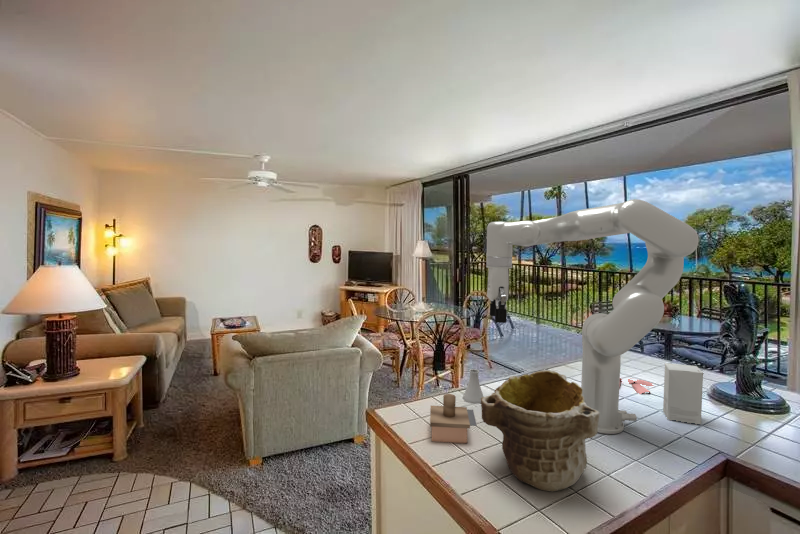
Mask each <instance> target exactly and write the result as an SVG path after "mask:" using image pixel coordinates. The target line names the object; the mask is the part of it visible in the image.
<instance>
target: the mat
mask: <svg viewBox="0 0 800 534" xmlns="http://www.w3.org/2000/svg"><path fill="white" fill-rule="evenodd" d="M467 412H468V417H469V422H470V427H471V426H473V427H475V426H476V427H477V421H476V418H475V411H474V409H468V408H467Z"/></svg>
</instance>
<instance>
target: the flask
mask: <svg viewBox="0 0 800 534" xmlns="http://www.w3.org/2000/svg"><path fill="white" fill-rule="evenodd" d="M468 372H469V380H468V383H467V386H466V389H465V391H464V394H463V396H462V399H463V401H464V402H465V403H468V404H473V405H477V404H481V398H482V397H485V396H484V394H483V391H482V388H481V384H480V380H479V373H480V370H479V369H476V368H470V369H469V370H468Z"/></svg>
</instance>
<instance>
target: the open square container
mask: <svg viewBox="0 0 800 534" xmlns="http://www.w3.org/2000/svg"><path fill="white" fill-rule="evenodd" d="M431 442H437V443H456V444H457V443H458V444H468V428H451V427H432V426H431Z"/></svg>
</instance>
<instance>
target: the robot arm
mask: <svg viewBox="0 0 800 534" xmlns="http://www.w3.org/2000/svg"><path fill="white" fill-rule="evenodd" d="M624 234H625V235H627V234H632V235H633V236H635V237H636V238H638V239H639V240H642V241H643V242H644V244H645V248H646V251H647V260H646V262H645V264H644V265H643V267H642V268H641V269H640V270H639V271H638V273H636V274H635V276H633V277H632V279H630V280H629V281H628V282H627V283H626V284H625V285H624V286H623V287H622V288H620V290H618V291H617V292H616V293H615V295H614V296H613V298H612V308H613V309H612V310H611V311H610V312H609V313H608V314H607V313H605V312H603V313H601V312H600V313H599V312H598V313H593V314H592V315H591V314H590V315H589V316H588V317H587V318H586V319H585V320H584V322H583V323H582V324H583V325H582V330H581V343H582V359H581V362H582V364H581V380H580V381H581V382H580V384H581V386H580V387H581V388H582V389H583V391H582V396H583V397H584V399H585V401H584V402H585V403H586V405H587V406H589V407H591V408H592V409H595V410H597V411H598V412H599V413H600V415H599V422H598V432H597V434H598V433H599V434H606V435H613V434H614V435H616V434H620V433H622V432H623V431H624V429H625V424H624V422H625V421H628V422H629V421H630V422H636V421H637V419H638V417H637V415H636V413H629V412H628V411H627V410H624V409H623V410H620V409H619V405H620V404H619V403H620V401H619V400H620V388H619V385H620V386H621V384H620V382H621V381H620V378H621V366H622V365H621V362H622V360H621V359H622V358H621V356H622V355H624V354H625V353H627V352H628V351H630V350H631V349H632V348H633V347H634V346H635V345H637V344H638V343H639V342H640V341H641V340H643V338H644V337H646V336H647V335H648V334H649V333H650V332H651V331H652V330H653V329H654V328H655V327H656V326H657V325H658V324H659V322H661V320H662V318H663V316H664V313H665V304H664V302H663V298H664V297H665V296H667V294H668V293H670V291H672V290H673V288H674V287H675V286H676V285H677V283H678V282H679V281H680V279H681V278H682V275H683V272H684V263H685V262H684V261H685V260H684V258H685V257H687V256H690V255H691V254H693V253H694V252H695V251H696V249H697V248H698V247H699V242H700V241H699V240H700V239H699V238H700V237H699V235H698V233H697V231H696V229H694V228H693V227H692V226H691V225H689V224H688V223H686V222H685V221H682V220H681V219H679V218H677V217H675V216H673V215H671V214H670V213H668V212H666V211H665V210H662V209H661V208H659V207H657V206H656V205H653V204H651V203H650V202H647V201H646V200H642V199H638V198H634V199H629V200H626V201H624V202H620V203H614V204H613V203H612V204H608V205H603V206H596V207H591V208H583V209H578V210H574V211H570V212H567V213H565V214H561V215H558V216H554V217H549V218H544V219H539V220H519V221H513V222H511V221H491V222H489V223H488V224H487V227H486V266H485V267H486V268H487V269H488V275H487V291H486V297H487V298H488V299H489V302H490V303H489V316H490V317H494V322H495V323H501V324H502V323H503V324H506V323H507V318H508V317H507V315H508V314H507V313H508V309H507V301H508V300H509V285H510V284H509V282H510V281H509V278H510V275H509V269H512V268H513V246H520V247H532V246H536V245H545V244H549V243H550V244H552V243H558V242H577V241H578V242H579V241H584V240H586V241H587V240H591V239H597V238H605V237H613V236H619V235H624Z"/></svg>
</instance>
